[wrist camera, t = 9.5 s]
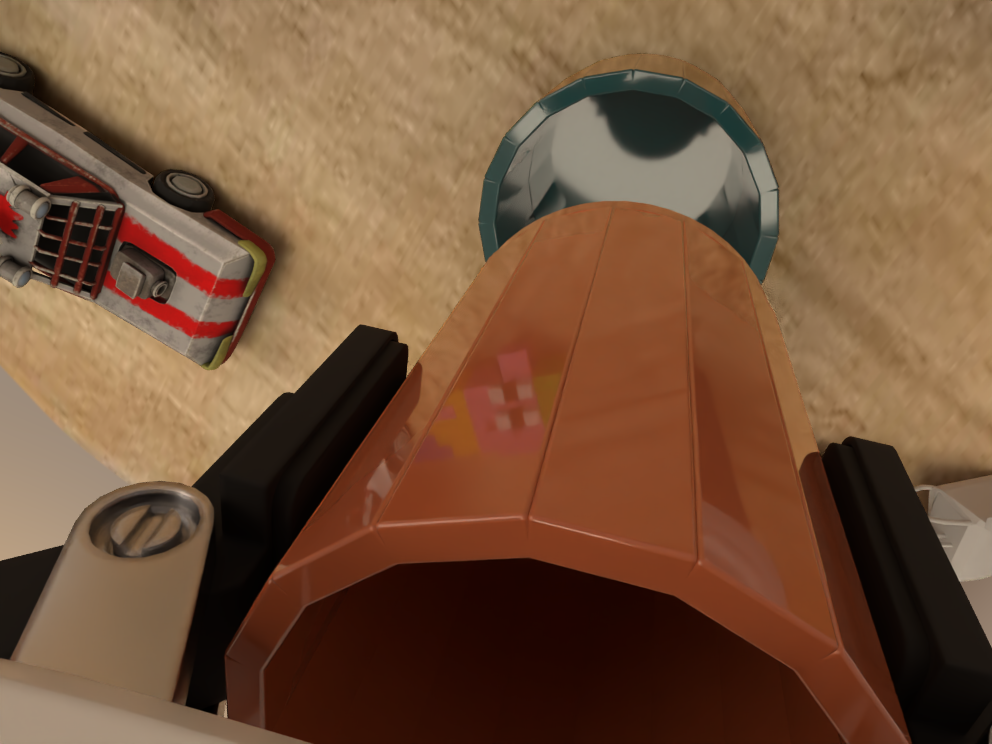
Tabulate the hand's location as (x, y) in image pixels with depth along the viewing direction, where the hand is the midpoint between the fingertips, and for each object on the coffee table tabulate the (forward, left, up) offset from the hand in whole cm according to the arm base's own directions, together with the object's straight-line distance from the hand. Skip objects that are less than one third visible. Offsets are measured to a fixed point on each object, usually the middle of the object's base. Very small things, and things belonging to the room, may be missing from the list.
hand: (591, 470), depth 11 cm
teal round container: (0, +1, -21) cm, 21 cm away
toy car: (+25, +6, -21) cm, 33 cm away
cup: (0, 0, -4) cm, 4 cm away
